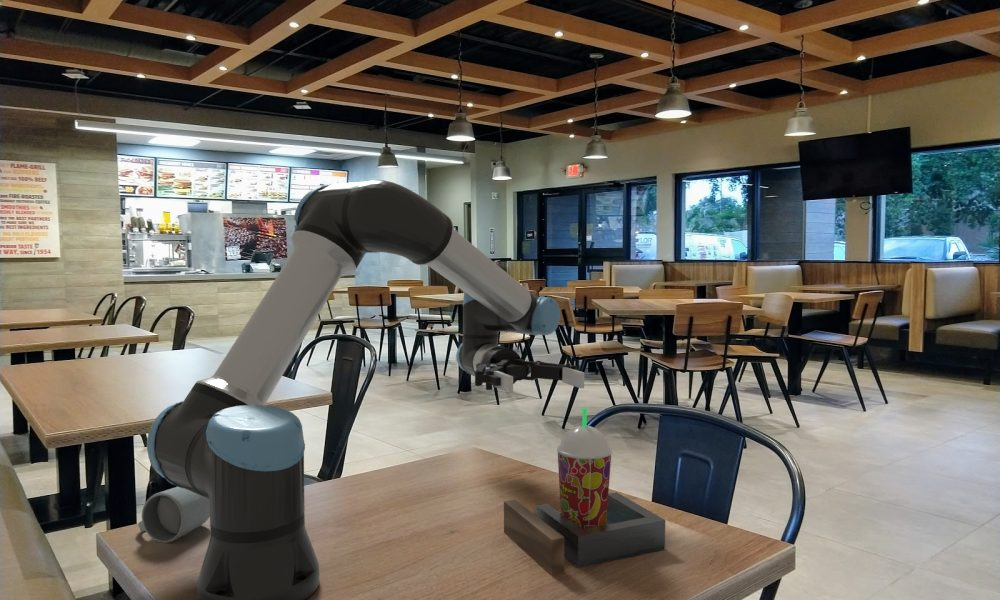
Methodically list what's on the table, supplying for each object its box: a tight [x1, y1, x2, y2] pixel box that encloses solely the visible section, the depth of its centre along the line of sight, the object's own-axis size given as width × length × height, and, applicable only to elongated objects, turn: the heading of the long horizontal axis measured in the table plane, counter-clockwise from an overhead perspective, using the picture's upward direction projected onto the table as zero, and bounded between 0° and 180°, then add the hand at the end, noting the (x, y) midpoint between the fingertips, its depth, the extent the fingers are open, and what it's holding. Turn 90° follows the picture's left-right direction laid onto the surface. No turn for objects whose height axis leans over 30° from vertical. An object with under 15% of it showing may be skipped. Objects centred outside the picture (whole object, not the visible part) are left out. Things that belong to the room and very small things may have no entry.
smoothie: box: [556, 407, 613, 529], centre depth 104 cm, size 8×8×20 cm
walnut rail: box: [503, 499, 565, 576], centre depth 100 cm, size 2×16×5 cm, turn 24°
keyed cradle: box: [535, 491, 666, 568], centre depth 105 cm, size 15×15×4 cm
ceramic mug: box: [137, 486, 210, 544], centre depth 107 cm, size 11×8×8 cm
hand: (547, 382), depth 114 cm, fingers open, 13 cm apart
